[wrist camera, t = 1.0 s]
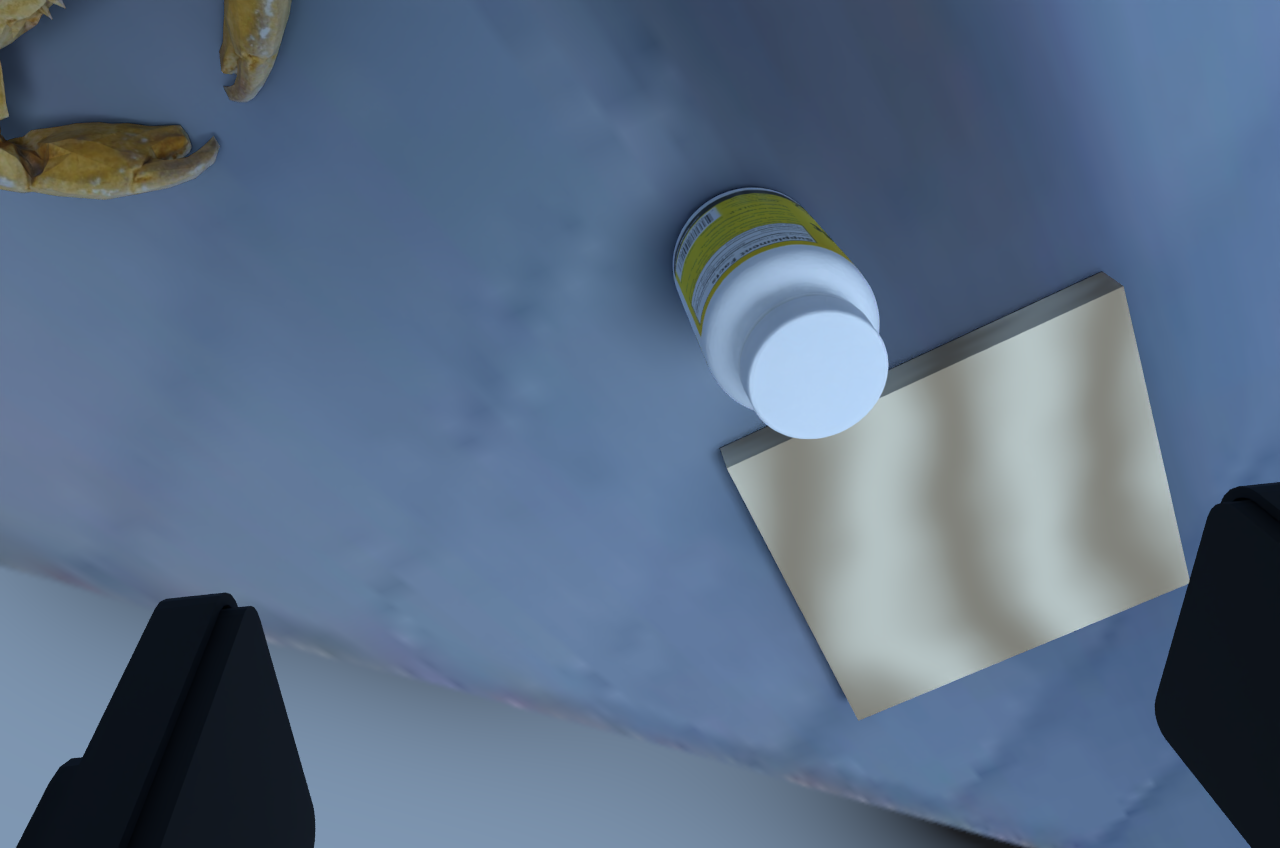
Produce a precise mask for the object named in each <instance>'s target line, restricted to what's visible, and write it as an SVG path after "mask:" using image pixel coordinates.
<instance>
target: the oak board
mask: <svg viewBox="0 0 1280 848" xmlns="http://www.w3.org/2000/svg"><path fill="white" fill-rule="evenodd" d="M720 450H721V453H722V456H723V459H724V462H725V464H726V467H727V470H728V471H729V473H730V475H731V477H732V479H733V481H734V483H735V485H736V487H737V489H738V491H739V493H740V494H741V496H742V498H743V500H744V502H745V504H746V506H747V508H748V510H749V512H750V514H751V516H752V517H753V519H754V521H755V523H756V525H757V527H758V529H759V531H760V533H761V535H762V537H763V539H764V540H765V542H766V544H767V546H768V548H769V550H770V552H771V554H772V556H773V558H774V560H775V562H776V563H777V565H778V567H779V569H780V571H781V573H782V575H783V577H784V579H785V581H786V583H787V585H788V586H789V588H790V590H791V592H792V594H793V596H794V598H795V600H796V602H797V604H798V606H799V608H800V609H801V611H802V613H803V615H804V617H805V619H806V621H807V623H808V625H809V627H810V629H811V631H812V632H813V634H814V636H815V638H816V640H817V642H818V644H819V646H820V648H821V650H822V652H823V653H824V655H825V657H826V659H827V661H828V663H829V665H830V667H831V669H832V671H833V673H834V675H835V676H836V678H837V680H838V682H839V684H840V686H841V688H842V690H843V692H844V694H845V696H846V698H847V699H848V701H849V703H850V705H851V707H852V709H853V711H854V713H855V715H856V717H857V719H858V721H859V720H861V719H864V718H866V717H868V716H871V715H873V714H876V713H878V712H880V711H883V710H885V709H888V708H890V707H892V706H895V705H897V704H900V703H902V702H904V701H907V700H909V699H912V698H914V697H917V696H919V695H921V694H924V693H926V692H929V691H931V690H933V689H936V688H938V687H941V686H943V685H945V684H948V683H950V682H953V681H955V680H957V679H960V678H962V677H965V676H967V675H970V674H972V673H974V672H977V671H979V670H982V669H984V668H986V667H989V666H991V665H994V664H996V663H998V662H1001V661H1003V660H1006V659H1008V658H1010V657H1013V656H1015V655H1018V654H1020V653H1023V652H1025V651H1027V650H1030V649H1032V648H1035V647H1037V646H1039V645H1042V644H1044V643H1047V642H1049V641H1051V640H1054V639H1056V638H1059V637H1061V636H1063V635H1066V634H1068V633H1071V632H1073V631H1076V630H1078V629H1080V628H1083V627H1085V626H1088V625H1090V624H1092V623H1095V622H1097V621H1100V620H1102V619H1104V618H1107V617H1109V616H1112V615H1114V614H1117V613H1119V612H1121V611H1124V610H1126V609H1129V608H1131V607H1133V606H1136V605H1138V604H1141V603H1143V602H1145V601H1148V600H1150V599H1153V598H1155V597H1157V596H1160V595H1162V594H1165V593H1167V592H1170V591H1172V590H1174V589H1177V588H1179V587H1182V586H1184V585H1186V584H1189V576H1188V571H1187V567H1186V562H1185V558H1184V553H1183V549H1182V545H1181V540H1180V536H1179V531H1178V527H1177V522H1176V518H1175V513H1174V509H1173V505H1172V500H1171V496H1170V491H1169V487H1168V482H1167V478H1166V473H1165V469H1164V464H1163V460H1162V456H1161V451H1160V447H1159V442H1158V438H1157V433H1156V429H1155V424H1154V420H1153V416H1152V411H1151V407H1150V402H1149V398H1148V393H1147V389H1146V384H1145V380H1144V375H1143V371H1142V367H1141V362H1140V358H1139V353H1138V349H1137V344H1136V340H1135V335H1134V331H1133V327H1132V322H1131V318H1130V313H1129V309H1128V304H1127V300H1126V295H1125V291H1124V286H1122V285H1121V284H1119V283H1118V282H1117V281H1115V280H1114V279H1112V278H1111V277H1109V276H1108V275H1107V274H1105V273H1104V272H1100V273H1098V274H1096V275H1094V276H1092V277H1089V278H1087V279H1085V280H1083V281H1081V282H1079V283H1076V284H1074V285H1072V286H1070V287H1068V288H1066V289H1063V290H1061V291H1059V292H1057V293H1055V294H1053V295H1050V296H1048V297H1046V298H1044V299H1042V300H1040V301H1037V302H1035V303H1033V304H1031V305H1029V306H1027V307H1024V308H1022V309H1020V310H1018V311H1016V312H1014V313H1012V314H1009V315H1007V316H1005V317H1003V318H1001V319H999V320H996V321H994V322H992V323H990V324H988V325H986V326H983V327H981V328H979V329H977V330H975V331H973V332H970V333H968V334H966V335H964V336H962V337H960V338H957V339H955V340H953V341H951V342H949V343H947V344H945V345H942V346H940V347H938V348H936V349H934V350H932V351H929V352H927V353H925V354H923V355H921V356H919V357H916V358H914V359H912V360H910V361H908V362H906V363H903V364H901V365H899V366H897V367H895V368H893V369H890V370H888V374H887V380H886V383H885V387H884V389H883V392H882V394H881V396H880V398H879V400H878V401H877V402H876V404H875V405H874V407H873V408H872V409H871V410H870V411H869V412H868V414H867V415H866V416H865V417H863V418H862V419H861V420H860V421H859V422H857V423H856V424H855V425H853V426H852V427H850V428H848V429H846V430H844V431H842V432H840V433H838V434H835V435H832V436H828V437H824V438H819V439H798V438H792V437H789V436H786V435H783V434H781V433H779V432H777V431H775V430H773V429H772V428H770V427H769V426H767V427H765V428H763V429H761V430H759V431H756V432H754V433H752V434H750V435H748V436H746V437H743V438H741V439H739V440H737V441H735V442H733V443H730V444H728V445H726V446H724V447H722V448H720Z"/></svg>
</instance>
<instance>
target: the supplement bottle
mask: <svg viewBox="0 0 1280 848" xmlns="http://www.w3.org/2000/svg"><path fill="white" fill-rule="evenodd" d="M673 276H674V281H675V285H676V288H677V291H678V294H679V296H680V299H681V301H682V304H683V307H684V309H685V311H686V314H687V316H688V319H689V321H690V323H691V326H692V328H693V331H694V333H695V336H696V338H697V341H698V343H699V345H700V348H701V350H702V353H703V355H704V358H705V360H706V362H707V365H708V367H709V369H710V371H711V373H712V375H713V377H714V378H715V380H716V381H717V383H718V384H719V386H720V387H721V388H722V389H723V390H724V391H725V392H726V394H728V395H729V396H730V397H731V398H732V399H734V400H735V401H736V402H738V403H739V404H741V405H743V406H745V407H747V408H749V409H752V410H754V411H755V412H756V414H757V415H758V416H759V418H760V419H761V420H762V421H763V422H764V423H765V424H766V425H768V426H769V427H770V428H772V429H773V430H775V431H777V432H779V433H781V434H783V435H786V436H789V437H792V438H798V439H819V438H824V437H828V436H832V435H835V434H838V433H840V432H842V431H844V430H846V429H848V428H850V427H852V426H853V425H855V424H856V423H857V422H859V421H860V420H861V419H862V418H863V417H865V416H866V415H867V414H868V412H869V411H870V410H871V409H872V408H873V407H874V405H875V404H876V402H877V401H878V400H879V398H880V396H881V394H882V392H883V389H884V387H885V383H886V380H887V374H888V356H887V351H886V347H885V345H884V342H883V340H882V338H881V337H880V335H879V311H878V307H877V303H876V299H875V296H874V294H873V292H872V290H871V287H870V286H869V284H868V282H867V281H866V279H865V278H864V277H863V275H862V274H861V272H860V271H859V270H858V269H857V267H856V266H855V265H854V264H853V263H852V262H851V261H850V260H849V258H848V257H847V256H846V255H845V254H844V253H843V252H842V251H841V249H840V248H839V247H838V246H837V245H836V244H835V243H834V241H833V240H832V239H831V238H830V237H829V236H828V235H827V234H826V233H825V232H824V230H823V229H822V228H821V227H820V226H819V225H818V224H817V223H816V221H815V220H814V219H813V218H812V217H811V216H810V215H809V214H808V212H807V211H806V210H805V209H804V208H803V207H801V206H800V205H799V204H798V203H797V202H795V201H794V200H793V199H791V198H790V197H788V196H786V195H784V194H782V193H780V192H777V191H773V190H770V189H764V188H740V189H735V190H732V191H728V192H725V193H723V194H720V195H718V196H716V197H714V198H712V199H711V200H709V201H708V202H706V203H705V204H703V205H702V206H701V207H700V208H699V209H698V210H697V211H696V212H695V213H694V214H693V215H692V216H691V217H690V218H689V220H688V221H687V222H686V224H685V225H684V227H683V229H682V231H681V233H680V235H679V237H678V239H677V242H676V245H675V249H674V255H673Z"/></svg>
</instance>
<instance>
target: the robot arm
mask: <svg viewBox="0 0 1280 848" xmlns="http://www.w3.org/2000/svg"><path fill="white" fill-rule="evenodd" d="M1155 715H1156V719H1157V723H1158V726H1159V728H1160V730H1161V733H1162V734H1163V736H1164V737H1165V739H1166V740H1167V741H1168V743H1169V744H1170V745H1171V747H1172V748H1173V749H1174V750H1175V752H1176V753H1177V754H1178V755H1179V757H1180V758H1181V759H1182V760H1183V762H1184V763H1185V764H1186V765H1187V767H1188V768H1189V769H1190V771H1191V772H1192V773H1193V774H1194V776H1195V777H1196V778H1197V779H1198V781H1199V782H1200V783H1201V784H1202V786H1203V787H1204V788H1205V790H1206V791H1207V792H1208V793H1209V795H1210V796H1211V797H1212V798H1213V800H1214V801H1215V802H1216V803H1217V805H1218V806H1219V807H1220V809H1221V810H1222V811H1223V812H1224V814H1225V815H1226V816H1227V817H1228V819H1229V820H1230V821H1231V822H1232V824H1233V825H1234V826H1235V828H1236V829H1237V830H1238V831H1239V833H1240V834H1241V835H1242V836H1243V838H1244V839H1245V840H1246V841H1247V843H1248V844H1249V845H1250V846H1251V848H1280V482H1277V483H1267V484H1258V485H1248V486H1239V487H1236V488H1233V489H1230V490H1229V491H1228V492H1227V493H1226V494H1225V495H1224V497H1223V499H1222V501H1221V503H1220V504H1217V505H1215V506H1214V507H1213V508H1212V509H1211V511H1210V513H1209V515H1208V517H1207V521H1206V524H1205V528H1204V531H1203V535H1202V538H1201V542H1200V545H1199V549H1198V552H1197V556H1196V559H1195V563H1194V566H1193V570H1192V573H1191V577H1190V580H1189V584H1188V587H1187V591H1186V594H1185V598H1184V601H1183V605H1182V608H1181V612H1180V615H1179V619H1178V622H1177V626H1176V629H1175V633H1174V636H1173V640H1172V643H1171V647H1170V650H1169V654H1168V657H1167V661H1166V664H1165V668H1164V671H1163V675H1162V678H1161V682H1160V685H1159V689H1158V692H1157V696H1156V700H1155ZM314 842H315V815H314V808H313V804H312V801H311V797H310V793H309V790H308V786H307V783H306V779H305V776H304V772H303V769H302V765H301V762H300V758H299V755H298V751H297V748H296V744H295V741H294V737H293V734H292V730H291V727H290V723H289V719H288V716H287V712H286V709H285V705H284V702H283V698H282V695H281V691H280V688H279V684H278V681H277V678H276V674H275V670H274V667H273V663H272V660H271V656H270V653H269V649H268V646H267V642H266V639H265V635H264V632H263V628H262V625H261V621H260V618H259V615H258V613H257V611H256V609H255V608H254V607H252V606H246V607H238V606H237V603H236V601H235V599H234V598H233V597H232V595H231V594H228V593H218V594H208V595H199V596H189V597H180V598H170V599H165V600H163V601H161V602H159V604H158V605H157V607H156V608H155V610H154V612H153V614H152V616H151V618H150V620H149V622H148V624H147V626H146V628H145V630H144V632H143V635H142V636H141V639H140V641H139V643H138V645H137V647H136V649H135V651H134V653H133V655H132V657H131V659H130V661H129V663H128V665H127V667H126V669H125V672H124V673H123V675H122V678H121V680H120V682H119V684H118V686H117V688H116V690H115V692H114V694H113V696H112V698H111V700H110V702H109V704H108V706H107V708H106V710H105V712H104V715H103V716H102V718H101V721H100V723H99V725H98V727H97V729H96V731H95V733H94V735H93V737H92V739H91V741H90V743H89V745H88V747H87V749H86V751H85V754H84V755H83V757H81V758H72V759H70V760H69V761H68V762H66V763H65V764H63V765H62V766H61V767H60V768H59V769H58V771H57V772H56V774H55V775H54V777H53V778H52V780H51V781H50V783H49V784H48V786H47V788H46V790H45V792H44V794H43V796H42V798H41V800H40V802H39V804H38V806H37V808H36V810H35V812H34V814H33V816H32V818H31V819H30V821H29V823H28V825H27V827H26V829H25V831H24V833H23V835H22V837H21V839H20V841H19V843H18V845H17V847H16V848H314Z"/></svg>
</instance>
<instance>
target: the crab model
mask: <svg viewBox="0 0 1280 848" xmlns="http://www.w3.org/2000/svg"><path fill="white" fill-rule="evenodd" d="M291 2H292V0H224V26H223V43H222V46H221V48H220V51H219V53H220V62H221V71H222V72H223V73H225V74H233V73H235V74H236V75H237V77H236V80H235V83H234V85H232V86H223V87H224V89H225V91H226V93H227V95H228V97H229V99H230V100H232V101H236V102H248V101H250V100H251V99H253V98H254V97H255V96H256V95H257V93H258V92H259V91H260V89H261V88H262V87H263V85H264V84H265V82H266V80H267V78H268V76H269V74H270V72H271V70H272V68H273V65H274V62H275V60H276V57H277V54H278V51H279V47H280V44H281V40H282V37H283V34H284V31H285V27H286V24H287V21H288V18H289V14H290V8H291ZM53 3H54V4H56V5H58V6H60V7H63V8H65V5H64V3H63V1H62V0H0V49H1V48H3V47H5V46H7V45H9V44H11V43H12V42H14V41H15V40H16V39H17V38H18V37H19V36H21V35H22V34H24V33H25V32H27V31H28V30H30V29H31V28H33V27H34V26H36V25H37V24H38V22H39V20H40V19H41V17H42V15H43V14H45V15H46V16H48V17H49V18H50V19H52V17H51V14H50V12H49V8H50V7H51V6H52V4H53ZM65 9H66V8H65ZM52 20H53V19H52ZM7 117H9V114H8V110H7V105H6V99H5V89H4V81H3V74H2V67H1V62H0V120H2V119H5V118H7ZM191 147H192V146H191V143H190V140H189V137H188V134H187V133H186V132H185V131H184V130H183V128H182V127H181V126H180V125H169V126H145V125H138V124H131V123H116V124H110V123H102V122H92V123H75V124H70V125H65V126H59V127H52V128H44V129H36V130H31V131H30V132H28V133H27V134H26V135H25V136H23V137H19V138H13V139H10V140H5V139H4V137H3V136H2V135H1V129H0V189H2V190H8V191H14V192H20V193H26V192H37V193H43V194H49V195H54V196H63V197H76V198H89V199H102V200H106V199H112V198H118V197H124V196H129V195H135V194H140V193H145V192H150V191H155V190H161V189H166V188H170V187H173V186H176V185H178V184H181V183H184V182H187V181H189V180H192V179H195V178H196V177H198V176H199V175H200V174H201V173H202V172H204V171H205V170H206V169H207V168H208V167H210V166H211V165H212V164H213V163H214V162H215V160H216V157H217V154H218V151H219V147H220V146H219V144H218V142H217V141H216V139H215V137H214V136H213V137H212V138H211V139H210V140H209V141H208V142H207V143H206V144H205V145H204V146H203V147H202V148H201V149H199V150H198V151H197V152H195V153H193V154H192V155H190V156H188V157H185V158H183V157H184V156H186V155H187V154H188V153H190V150H191Z"/></svg>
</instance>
